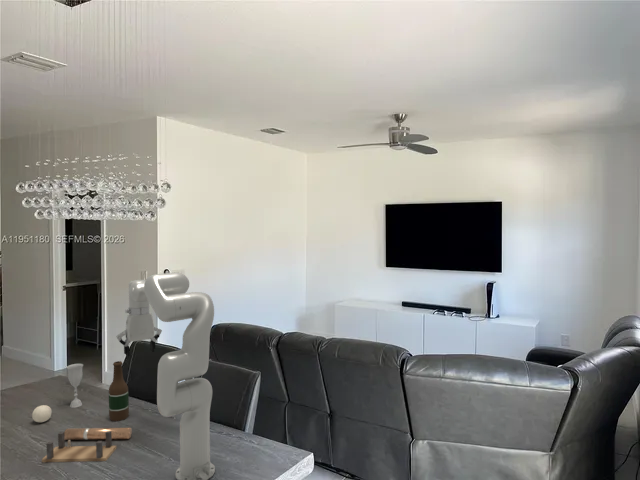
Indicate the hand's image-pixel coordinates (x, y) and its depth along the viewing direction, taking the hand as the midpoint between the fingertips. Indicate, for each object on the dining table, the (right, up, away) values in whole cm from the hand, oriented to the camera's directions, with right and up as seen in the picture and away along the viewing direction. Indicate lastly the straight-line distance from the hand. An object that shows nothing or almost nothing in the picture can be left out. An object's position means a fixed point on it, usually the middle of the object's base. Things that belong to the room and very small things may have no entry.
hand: (140, 353), depth 184 cm
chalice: (-39, -30, +25) cm, 55 cm away
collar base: (-14, -32, -20) cm, 40 cm away
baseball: (-44, -31, +8) cm, 54 cm away
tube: (-13, -31, -7) cm, 35 cm away
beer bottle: (-13, -31, +12) cm, 35 cm away
